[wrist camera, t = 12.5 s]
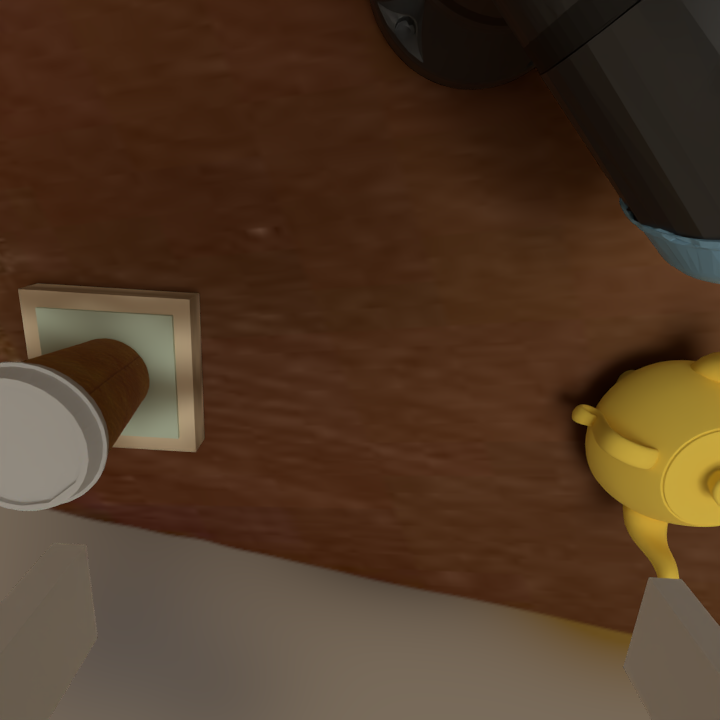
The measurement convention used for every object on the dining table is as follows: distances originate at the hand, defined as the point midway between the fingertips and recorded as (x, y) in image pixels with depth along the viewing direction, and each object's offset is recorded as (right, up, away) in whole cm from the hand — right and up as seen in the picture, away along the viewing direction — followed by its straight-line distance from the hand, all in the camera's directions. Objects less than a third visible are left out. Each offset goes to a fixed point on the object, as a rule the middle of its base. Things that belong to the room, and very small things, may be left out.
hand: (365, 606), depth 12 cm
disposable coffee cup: (-20, +5, +29) cm, 36 cm away
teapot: (+24, +1, +33) cm, 41 cm away
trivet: (-20, +5, +32) cm, 38 cm away
